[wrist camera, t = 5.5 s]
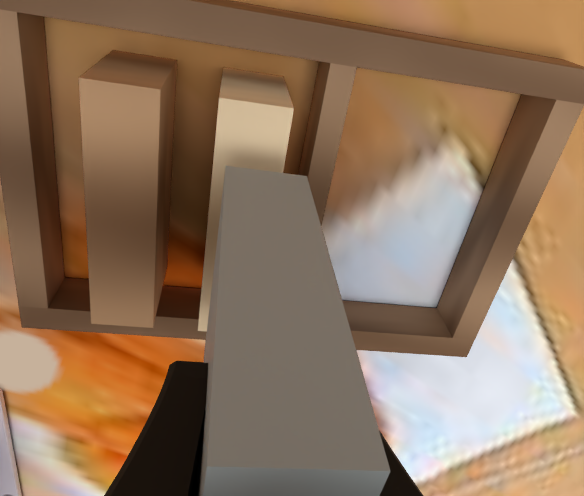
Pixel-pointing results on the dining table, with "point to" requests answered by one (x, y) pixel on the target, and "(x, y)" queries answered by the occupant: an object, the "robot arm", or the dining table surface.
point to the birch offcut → (244, 146)
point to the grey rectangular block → (281, 355)
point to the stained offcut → (127, 183)
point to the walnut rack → (314, 162)
